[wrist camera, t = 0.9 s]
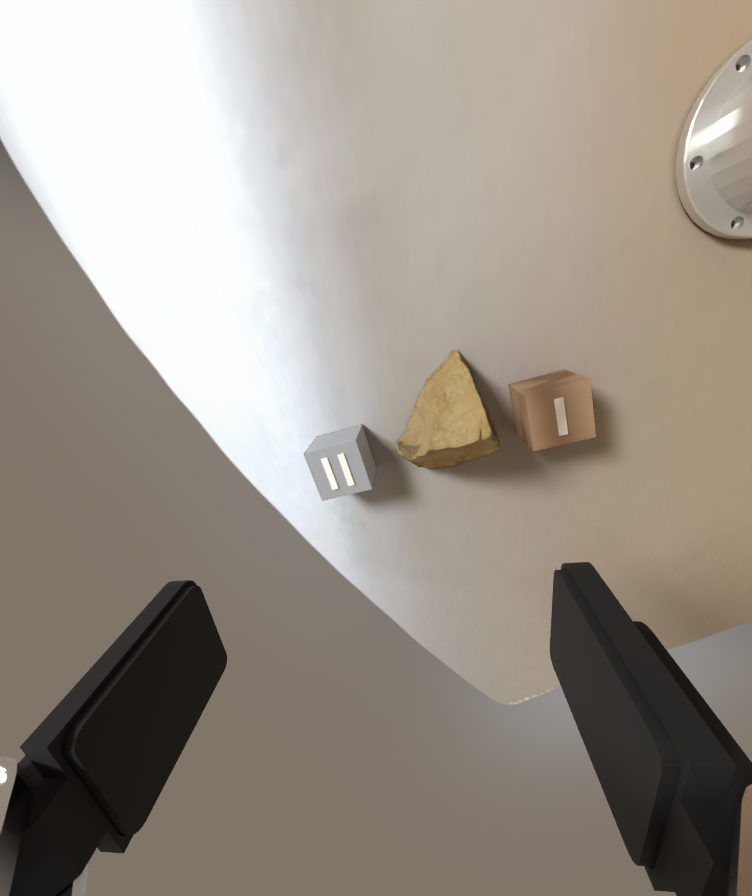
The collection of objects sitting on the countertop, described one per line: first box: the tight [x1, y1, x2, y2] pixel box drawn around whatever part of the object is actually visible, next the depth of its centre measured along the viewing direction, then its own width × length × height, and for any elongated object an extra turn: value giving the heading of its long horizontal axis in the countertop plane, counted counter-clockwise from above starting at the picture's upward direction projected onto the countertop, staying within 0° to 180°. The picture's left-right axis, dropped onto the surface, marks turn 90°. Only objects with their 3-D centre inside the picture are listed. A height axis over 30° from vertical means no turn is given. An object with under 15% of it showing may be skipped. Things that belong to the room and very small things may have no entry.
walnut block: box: [508, 370, 596, 451], centre depth 31 cm, size 5×5×5 cm
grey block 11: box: [304, 424, 376, 501], centre depth 34 cm, size 5×5×5 cm
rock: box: [395, 350, 500, 469], centre depth 31 cm, size 11×9×10 cm
